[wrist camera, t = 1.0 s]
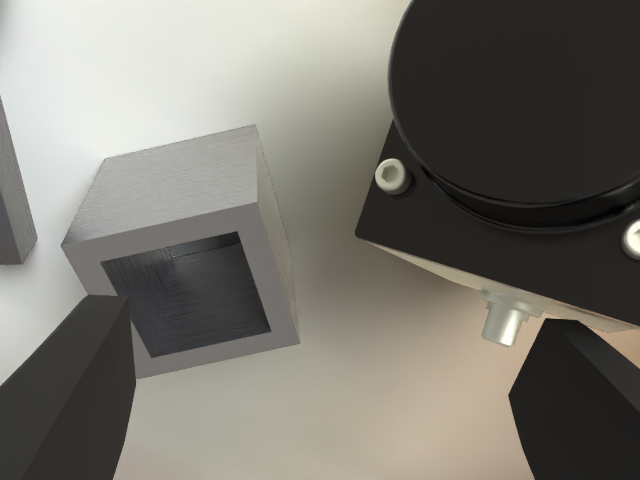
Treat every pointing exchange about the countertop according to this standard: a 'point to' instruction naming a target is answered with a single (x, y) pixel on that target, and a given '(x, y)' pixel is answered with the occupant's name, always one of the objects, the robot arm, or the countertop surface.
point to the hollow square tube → (195, 269)
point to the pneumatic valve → (516, 157)
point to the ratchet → (13, 203)
